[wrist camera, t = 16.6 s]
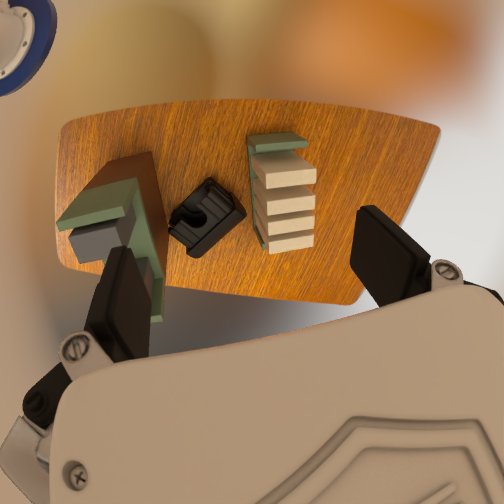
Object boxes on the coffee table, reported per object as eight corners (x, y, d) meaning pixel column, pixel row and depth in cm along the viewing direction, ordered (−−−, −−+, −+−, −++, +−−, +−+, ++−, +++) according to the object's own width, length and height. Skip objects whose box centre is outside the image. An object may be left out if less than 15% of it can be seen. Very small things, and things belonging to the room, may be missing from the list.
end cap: (199, 242, 48) (201, 266, 42) (168, 217, 44) (165, 238, 38) (243, 202, 45) (251, 222, 40) (212, 173, 41) (215, 189, 36)
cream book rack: (246, 135, 39) (261, 151, 31) (291, 131, 40) (318, 146, 32) (253, 228, 48) (267, 263, 40) (293, 222, 49) (314, 254, 41)
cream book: (250, 155, 40) (265, 173, 33) (293, 150, 41) (316, 168, 33) (251, 167, 41) (266, 189, 34) (293, 163, 42) (316, 183, 34)
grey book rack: (107, 161, 36) (53, 225, 20) (151, 151, 37) (121, 208, 21) (130, 240, 45) (107, 331, 28) (169, 232, 45) (163, 324, 29)
